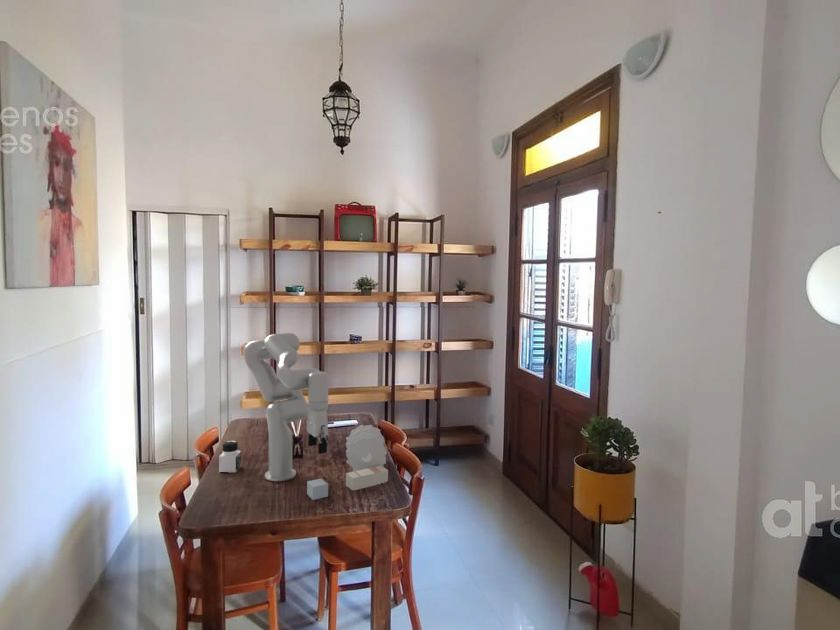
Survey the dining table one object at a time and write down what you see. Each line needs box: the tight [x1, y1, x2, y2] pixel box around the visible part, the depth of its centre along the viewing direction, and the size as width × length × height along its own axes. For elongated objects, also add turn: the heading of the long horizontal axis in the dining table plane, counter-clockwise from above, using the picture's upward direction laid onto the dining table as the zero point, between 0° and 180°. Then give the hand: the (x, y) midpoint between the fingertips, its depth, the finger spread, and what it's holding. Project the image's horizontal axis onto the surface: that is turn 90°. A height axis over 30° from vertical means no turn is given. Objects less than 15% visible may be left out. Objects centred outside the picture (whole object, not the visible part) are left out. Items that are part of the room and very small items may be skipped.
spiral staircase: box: [345, 424, 388, 472], centre depth 216 cm, size 18×18×25 cm
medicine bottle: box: [218, 440, 242, 473], centre depth 211 cm, size 7×7×12 cm
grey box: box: [306, 478, 329, 501], centre depth 187 cm, size 6×6×5 cm
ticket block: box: [345, 466, 389, 491], centre depth 199 cm, size 6×16×5 cm, turn 124°
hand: (317, 449), depth 187 cm, fingers open, 9 cm apart
